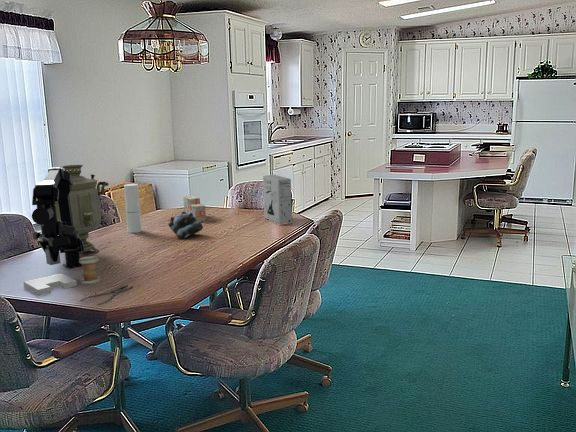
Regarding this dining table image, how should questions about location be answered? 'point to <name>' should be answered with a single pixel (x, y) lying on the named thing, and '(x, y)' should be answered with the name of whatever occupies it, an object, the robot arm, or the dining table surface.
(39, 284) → the notched board
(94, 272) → the bobbin
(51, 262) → the steel block
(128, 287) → the pliers
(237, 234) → the dining table surface
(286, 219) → the cereal box
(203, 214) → the stack of blocks
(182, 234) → the dark grey lumpy cluster
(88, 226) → the samovar
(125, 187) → the cylindrical container
